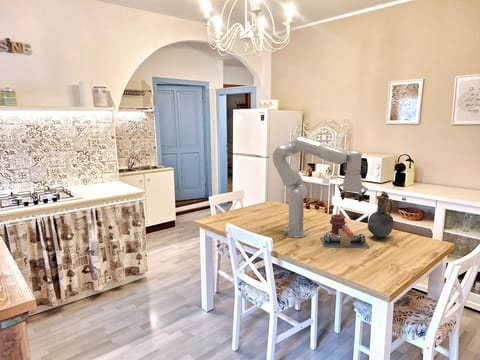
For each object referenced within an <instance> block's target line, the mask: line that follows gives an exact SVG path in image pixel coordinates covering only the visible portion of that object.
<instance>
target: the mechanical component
mask: <svg viewBox="0 0 480 360" xmlns="http://www.w3.org/2000/svg"><path fill="white" fill-rule="evenodd" d="M345 218H346V217H345V215H341V214H338V213H336V214H332V215H331V218H330V220H329V224H331V231H332V233H334V234H335V235H338V231H339V229H342V226H343V225H346V223H347V222H346V220H345Z"/></svg>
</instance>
